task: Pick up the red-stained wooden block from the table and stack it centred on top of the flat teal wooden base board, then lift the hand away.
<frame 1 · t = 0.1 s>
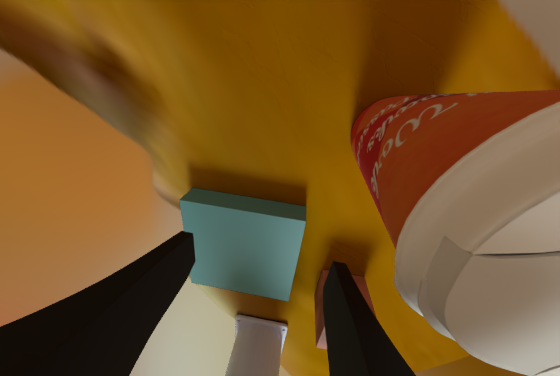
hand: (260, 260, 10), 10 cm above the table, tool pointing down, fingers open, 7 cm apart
red wood block: (338, 286, 25), on the table
paper cup: (384, 134, 16), on the table
teal base board: (247, 237, 24), on the table
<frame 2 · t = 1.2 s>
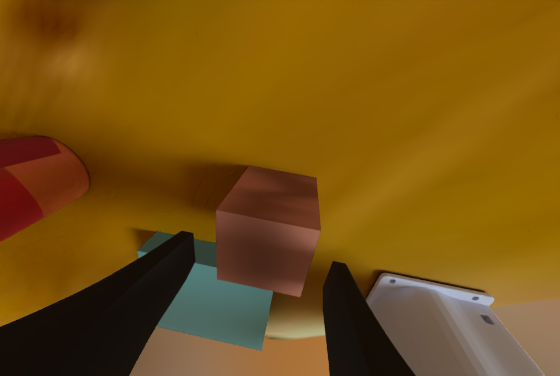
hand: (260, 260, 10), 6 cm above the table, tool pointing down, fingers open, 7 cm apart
red wood block: (277, 200, 16), on the table
paper cup: (62, 167, 17), on the table
teal base board: (219, 280, 22), on the table
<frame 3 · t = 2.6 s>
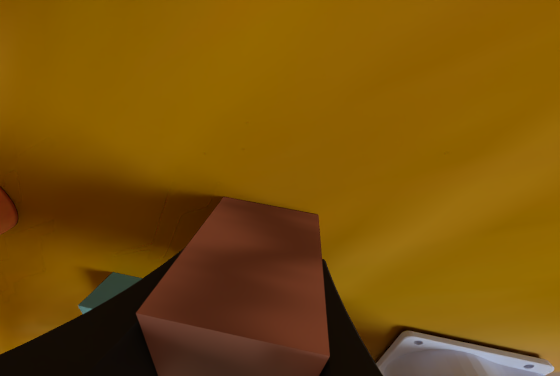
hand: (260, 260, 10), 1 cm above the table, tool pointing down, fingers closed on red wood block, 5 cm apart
red wood block: (265, 241, 11), on the table, touching gripper
teal base board: (197, 325, 18), on the table
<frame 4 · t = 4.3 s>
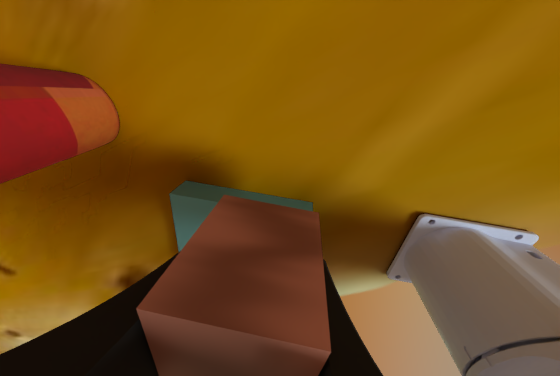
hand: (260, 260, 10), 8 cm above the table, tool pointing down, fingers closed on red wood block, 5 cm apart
red wood block: (265, 239, 11), point 7 cm above the table, touching gripper
paper cup: (90, 111, 17), on the table
teal base board: (246, 236, 21), on the table
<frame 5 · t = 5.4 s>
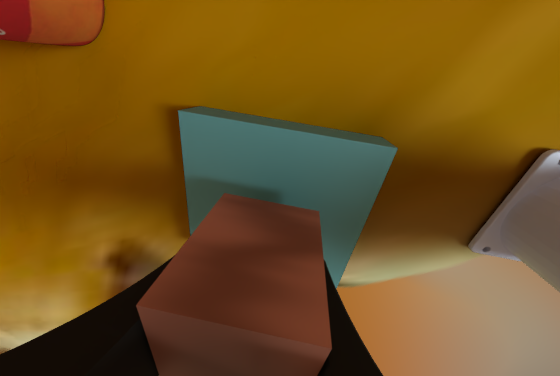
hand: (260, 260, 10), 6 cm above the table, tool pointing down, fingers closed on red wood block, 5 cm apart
red wood block: (265, 238, 11), point 5 cm above the table, touching gripper
teal base board: (277, 196, 16), on the table
when the fingers open (6 cm above the table, at t = 6.2 s): red wood block drops 2 cm, resting on teal base board.
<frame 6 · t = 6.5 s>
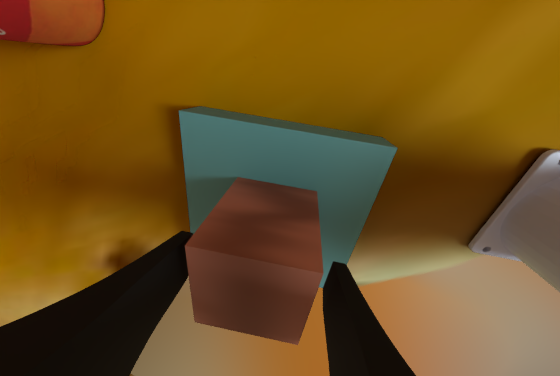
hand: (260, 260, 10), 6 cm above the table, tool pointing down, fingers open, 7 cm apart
red wood block: (272, 216, 13), point 2 cm above the table, touching teal base board
teal base board: (277, 195, 16), on the table, touching red wood block
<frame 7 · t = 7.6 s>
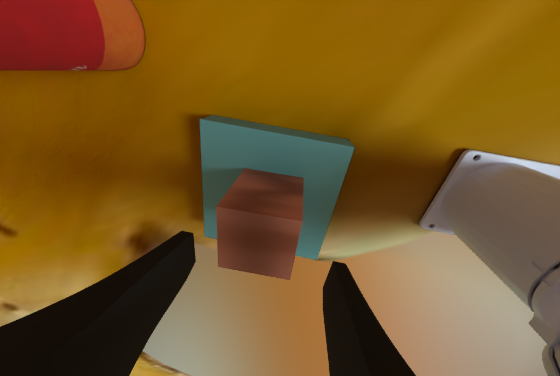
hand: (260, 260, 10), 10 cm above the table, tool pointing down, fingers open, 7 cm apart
red wood block: (271, 198, 18), point 2 cm above the table, touching teal base board
paper cup: (113, 29, 15), on the table
teal base board: (272, 184, 20), on the table, touching red wood block
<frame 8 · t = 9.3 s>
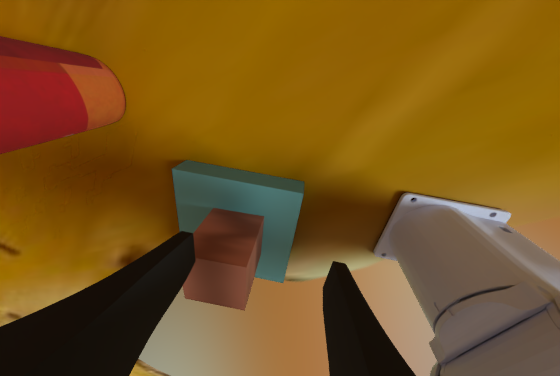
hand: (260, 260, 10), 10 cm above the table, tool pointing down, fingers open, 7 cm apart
red wood block: (238, 232, 20), point 2 cm above the table
paper cup: (99, 92, 18), on the table
teal base board: (243, 216, 23), on the table
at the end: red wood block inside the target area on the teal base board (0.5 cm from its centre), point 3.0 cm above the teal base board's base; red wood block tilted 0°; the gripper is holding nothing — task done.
